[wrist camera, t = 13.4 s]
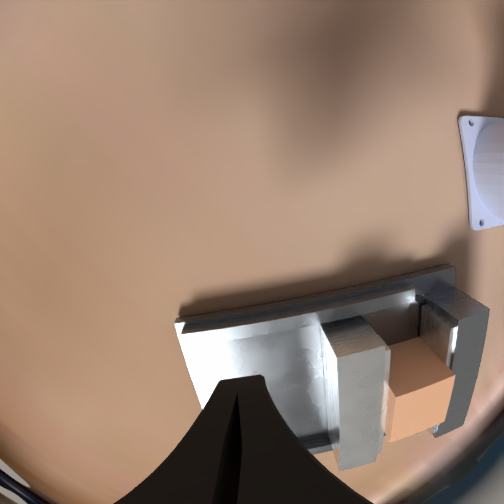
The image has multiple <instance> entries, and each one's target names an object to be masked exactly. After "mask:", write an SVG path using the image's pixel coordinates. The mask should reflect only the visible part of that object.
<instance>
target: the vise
mask: <svg viewBox="0 0 504 504" xmlns="http://www.w3.org/2000/svg"><path fill="white" fill-rule="evenodd" d="M455 270H456V267H455V266H453V265H451V264H445V265H441V266H438V267H434V268H430V269H426V270H422V271H418V272H414V273H410V274H405V275H401V276H397V277H393V278H389V279H384V280H380V281H375V282H371V283H367V284H362V285H357V286H353V287H348V288H344V289H339V290H334V291H329V292H324V293H319V294H314V295H309V296H304V297H299V298H294V299H289V300H283V301H278V302H272V303H267V304H261V305H255V306H250V307H244V308H238V309H232V310H226V311H220V312H213V313H207V314H200V315H194V316H187V317H180V318H176V321H175V323H174V325H175V328H176V331H177V335H178V338H179V341H180V344H181V347H182V351H183V354H184V357H185V360H186V363H187V366H188V369H189V372H190V375H191V378H192V381H193V383H194V386H195V389H196V392H197V395H198V398H199V400H200V403H201V406H202V408H204V406H205V404H206V403H207V401H208V399H209V398H210V396H211V394H212V392H213V391H214V389H215V387H216V385H217V383H218V382H219V381H220V380H224V379H232V378H239V377H246V376H252V375H259V374H261V375H262V376H264V377H265V382H266V386H267V389H268V392H269V394H270V396H271V398H272V400H273V402H274V404H275V406H276V407H277V409H278V411H279V412H280V414H281V415H282V417H283V419H284V420H285V422H286V423H287V425H288V426H289V427H290V429H291V430H292V431H293V433H294V434H295V435H296V437H297V438H298V439H299V440H300V441H301V443H302V444H303V445H304V446H305V447H306V448H307V449H308V451H309V452H310V453H311V454H312V455H313V454H318V453H322V452H327V451H331V450H333V448H332V445H331V441H330V438H329V435H328V423H327V406H326V391H325V378H324V366H323V354H322V344H321V333H320V324H322V323H327V322H332V321H336V320H341V319H345V318H350V317H354V316H358V315H362V317H363V318H364V319H365V320H366V321H368V322H369V323H370V324H371V326H372V327H373V328H374V329H375V331H376V332H377V333H378V334H379V336H380V337H381V338H382V339H383V341H384V342H385V343H386V344H387V346H390V345H394V344H397V343H400V342H404V341H407V340H410V339H413V338H417V337H419V338H420V339H421V340H422V341H423V342H424V343H425V344H426V345H427V346H428V347H429V348H430V349H431V350H432V351H433V352H434V353H435V354H436V355H437V356H438V357H439V358H440V359H441V360H442V361H443V362H444V363H445V364H446V365H447V366H448V367H449V368H450V369H451V371H452V372H453V373H454V374H455V380H454V385H453V389H452V394H451V398H450V402H449V406H448V410H447V414H446V418H445V421H444V422H442V423H440V424H438V425H435V426H433V427H430V428H428V431H429V432H430V434H433V436H434V437H435V438H437V437H439V436H441V435H443V434H446V433H448V432H450V431H452V430H454V429H456V428H458V427H460V426H462V425H463V424H464V421H465V418H466V415H467V411H468V408H469V405H470V401H471V398H472V394H473V391H474V387H475V383H476V379H477V375H478V371H479V367H480V362H481V358H482V353H483V348H484V342H485V337H486V331H487V325H488V318H489V310H490V309H489V308H488V307H486V306H485V305H483V304H482V303H480V302H478V301H477V300H475V299H473V298H472V297H470V296H469V295H467V294H465V293H464V292H462V291H460V290H459V289H457V288H455ZM385 435H386V434H385V432H384V436H385Z"/></svg>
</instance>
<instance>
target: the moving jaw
mask: <svg viewBox="0 0 504 504" xmlns="http://www.w3.org/2000/svg"><path fill="white" fill-rule="evenodd" d="M320 333H321V344H322V354H323V366H324V378H325V391H326V406H327V423H328V435H329V438H330V441H331V445H332V448H333V451H334V455H335V458H336V461H337V465H338V468H339V471H343V470H347V469H350V468H354V467H358V466H361V465H365V464H368V463H372V462H375V461H376V456H377V455H378V454H381V450H382V443H383V436H384V428H385V420H386V410H387V400H388V388H389V374H390V354H391V349H390V348H389V347H388V346H387V344H386V343H385V342H384V341H383V339H382V338H381V337H380V336H379V334H378V333H377V332H376V331H375V329H374V328H373V327H372V326H371V324H370V323H369V322H368V321H366V320H365V319H364V318H363V317H362V315H358V316H354V317H350V318H345V319H341V320H336V321H332V322H327V323H322V324H320Z"/></svg>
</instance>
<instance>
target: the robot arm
mask: <svg viewBox="0 0 504 504" xmlns="http://www.w3.org/2000/svg"><path fill="white" fill-rule="evenodd" d="M469 121H470V123H471V125H469ZM458 122H459V128H460V134H461V140H462V146H463V153H464V160H465V169H466V178H467V189H468V202H469V223H470V228H471V229H472V230H475V231H477V230H482V229H486V228H491V227H495V226H499V225H504V118H496V117H483V116H460V117H459V120H458ZM480 220H481V223H480V224H479V222H480ZM114 504H373V503H372V502H370V501H369V500H367V499H366V498H364V497H363V496H361V495H360V494H358V493H357V492H355V491H354V490H353V489H351V488H350V487H349V486H347V485H346V484H345V483H344V482H342V481H341V480H340V479H338V478H337V477H336V476H335V475H333V474H332V473H331V472H330V471H329V470H328V469H327V468H326V467H324V466H323V465H322V464H321V463H320V462H319V461H318V460H317V459H316V458H315V457H314V456H313V455H312V454H311V453H310V452H309V451H308V449H307V448H306V447H305V446H304V445H303V444H302V443H301V441H300V440H299V439H298V438H297V437H296V435H295V434H294V433H293V431H292V430H291V429H290V427H289V426H288V425H287V423H286V422H285V420H284V419H283V417H282V415H281V414H280V412H279V411H278V409H277V407H276V406H275V404H274V402H273V400H272V398H271V396H270V394H269V392H268V389H267V386H266V382H265V377H264V376H262V375H261V374H259V375H252V376H246V377H239V378H232V379H224V380H220V381H219V382H218V383H217V385H216V387H215V389H214V391H213V392H212V394H211V396H210V398H209V399H208V401H207V403H206V404H205V406H204V408H203V409H202V411H201V413H200V414H199V416H198V417H197V419H196V420H195V422H194V423H193V425H192V426H191V428H190V429H189V431H188V432H187V433H186V435H185V436H184V437H183V438H182V440H181V441H180V442H179V444H178V445H177V446H176V448H175V449H174V450H173V451H172V452H171V453H170V455H169V456H168V457H167V458H166V459H165V460H164V461H163V462H162V463H161V464H160V465H159V467H158V468H157V469H156V470H155V471H154V472H153V473H151V474H150V475H149V476H148V477H147V478H146V479H145V480H144V481H143V482H141V483H140V484H139V485H138V486H137V487H135V488H134V489H133V490H132V491H131V492H129V493H128V494H127V495H125V496H124V497H123V498H121V499H120V500H118V501H117V502H115V503H114Z"/></svg>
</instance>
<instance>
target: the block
mask: <svg viewBox="0 0 504 504" xmlns="http://www.w3.org/2000/svg"><path fill="white" fill-rule="evenodd" d="M388 347H389V348H390V349H391V354H390V374H389V388H388V400H387V410H386V420H385V428H384V432H385V434H386V436H387V438H388V440H389V442H393V441H396V440H399V439H402V438H405V437H407V436H410V435H413V434H415V433H418V432H421V431H423V430H426V429H428V428H430V427H433V426H435V425H438V424H440V423H442V422H444V421H445V418H446V414H447V410H448V406H449V402H450V398H451V394H452V389H453V385H454V380H455V374H454V373H453V372H452V371H451V369H450V368H449V367H448V366H447V365H446V364H445V363H444V362H443V361H442V360H441V359H440V358H439V357H438V356H437V355H436V354H435V353H434V352H433V351H432V350H431V349H430V348H429V347H428V346H427V345H426V344H425V343H424V342H423V341H422V340H421V339H420V338H419V337H417V338H413V339H410V340H407V341H404V342H400V343H397V344H394V345H390V346H388Z"/></svg>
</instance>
